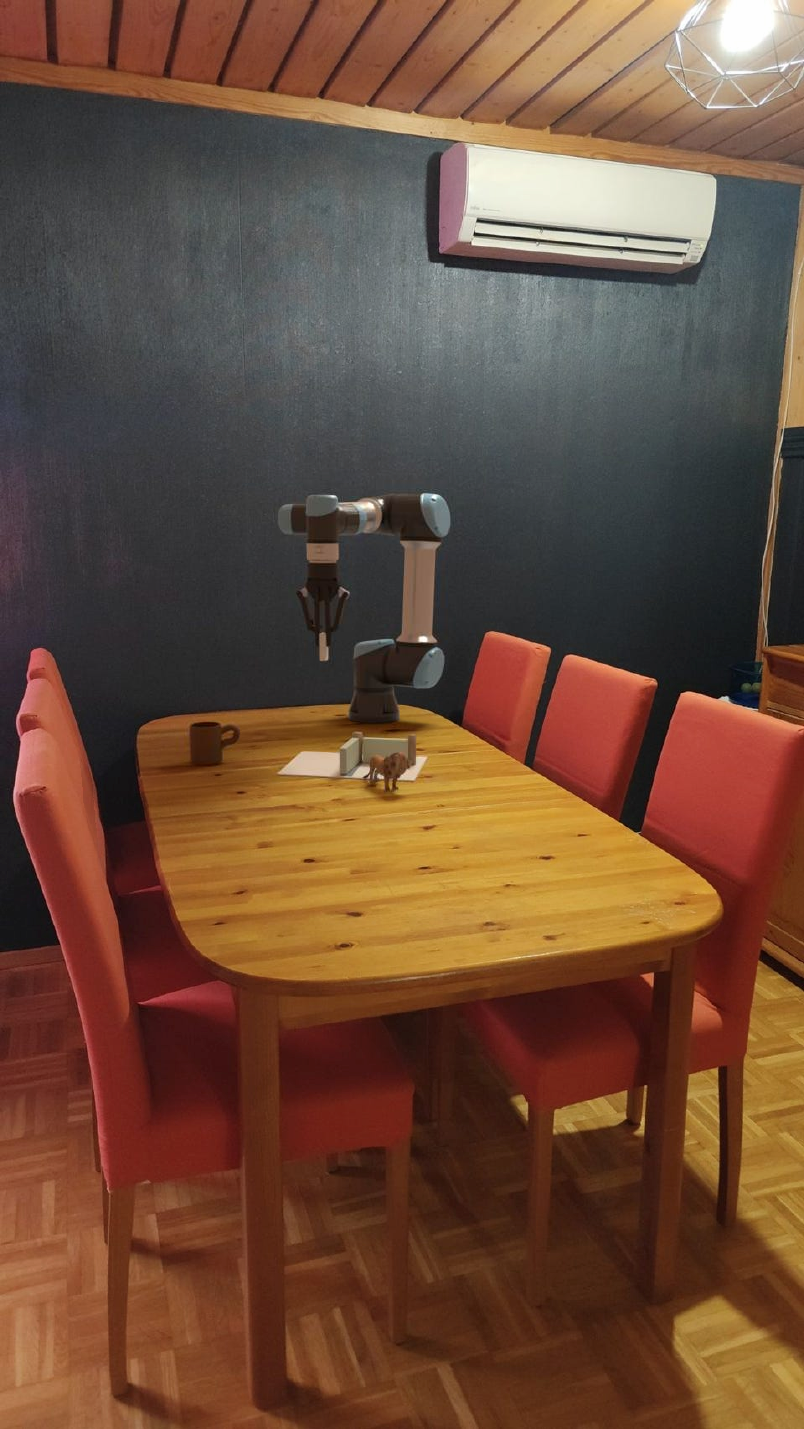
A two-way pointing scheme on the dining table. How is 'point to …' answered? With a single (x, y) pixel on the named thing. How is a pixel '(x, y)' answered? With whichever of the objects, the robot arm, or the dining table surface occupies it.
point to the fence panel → (349, 755)
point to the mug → (209, 742)
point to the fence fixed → (386, 747)
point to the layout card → (330, 767)
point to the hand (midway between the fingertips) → (324, 660)
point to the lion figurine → (388, 768)
